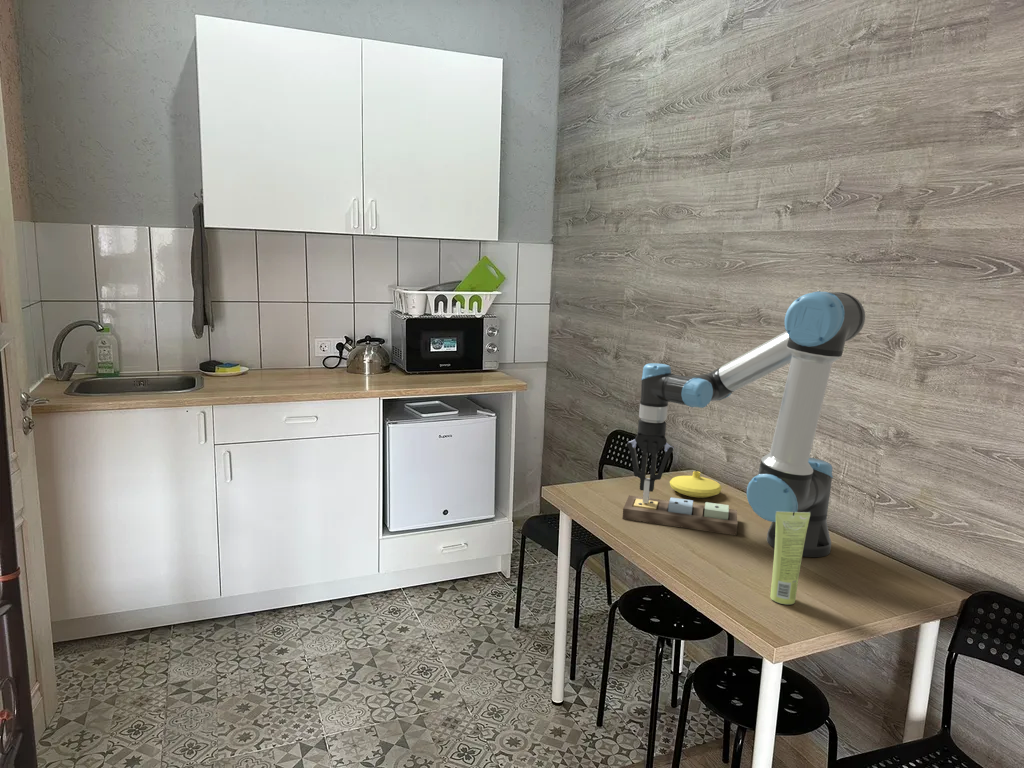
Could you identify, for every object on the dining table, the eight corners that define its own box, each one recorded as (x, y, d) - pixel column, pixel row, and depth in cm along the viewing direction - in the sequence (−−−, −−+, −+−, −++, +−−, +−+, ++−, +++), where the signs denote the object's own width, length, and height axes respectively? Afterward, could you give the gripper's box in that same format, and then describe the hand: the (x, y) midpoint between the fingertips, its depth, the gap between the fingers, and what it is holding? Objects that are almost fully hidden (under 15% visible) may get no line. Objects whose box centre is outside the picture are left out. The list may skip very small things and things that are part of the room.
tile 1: (727, 515, 190) (728, 504, 189) (727, 523, 184) (728, 511, 183) (704, 512, 191) (705, 501, 191) (703, 519, 186) (704, 508, 185)
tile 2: (692, 510, 192) (693, 499, 192) (691, 517, 186) (692, 506, 186) (669, 507, 194) (670, 496, 194) (667, 514, 188) (668, 503, 188)
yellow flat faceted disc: (702, 505, 203) (705, 483, 202) (658, 491, 215) (660, 470, 214) (730, 495, 214) (732, 474, 213) (687, 483, 225) (689, 462, 224)
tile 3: (657, 511, 195) (658, 500, 195) (655, 518, 189) (656, 507, 189) (635, 508, 197) (636, 497, 197) (632, 515, 191) (633, 504, 191)
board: (735, 520, 192) (736, 510, 192) (736, 535, 181) (737, 524, 180) (628, 505, 201) (629, 495, 200) (622, 518, 189) (623, 508, 189)
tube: (776, 591, 149) (786, 505, 146) (800, 599, 146) (810, 511, 142) (765, 599, 145) (775, 511, 142) (789, 608, 141) (800, 518, 138)
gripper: (677, 419, 191) (670, 500, 194) (630, 414, 194) (624, 494, 198) (675, 425, 183) (668, 509, 187) (626, 419, 187) (620, 502, 191)
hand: (645, 501), depth 193 cm, fingers closed
